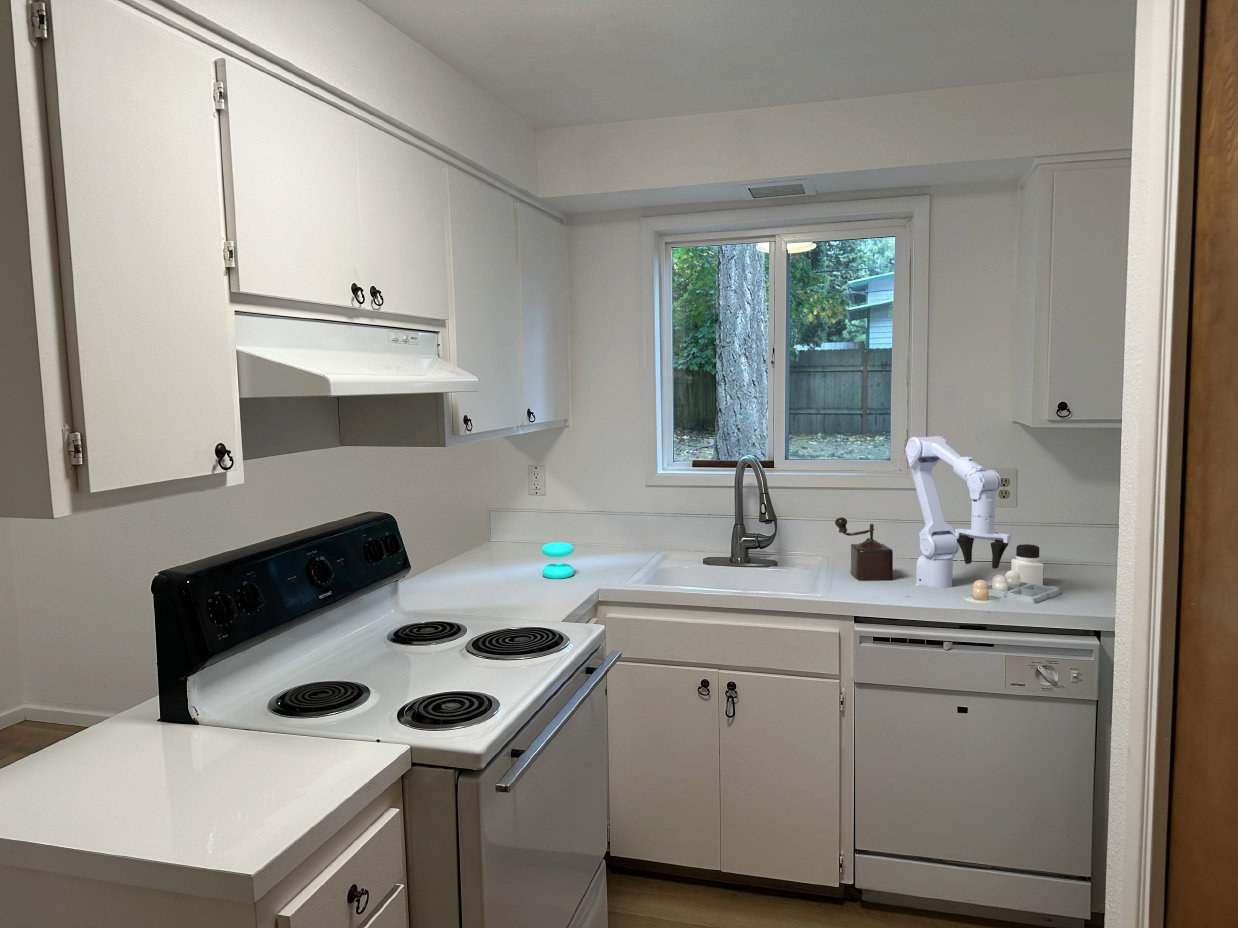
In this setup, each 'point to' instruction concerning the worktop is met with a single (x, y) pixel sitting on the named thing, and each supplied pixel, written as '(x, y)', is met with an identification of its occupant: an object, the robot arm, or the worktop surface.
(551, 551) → the cyan oval discs
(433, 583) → the worktop surface
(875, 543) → the manual coffee grinder
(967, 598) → the saucer
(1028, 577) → the medicine bottle
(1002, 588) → the egg white front
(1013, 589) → the carton
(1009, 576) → the egg white back
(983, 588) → the egg brown
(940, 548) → the robot arm
